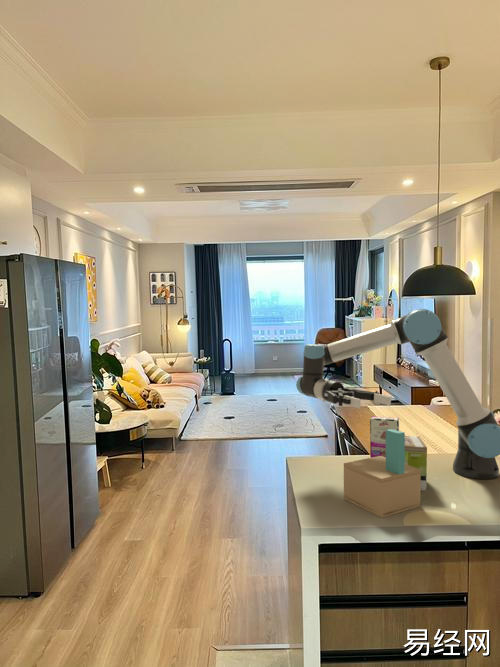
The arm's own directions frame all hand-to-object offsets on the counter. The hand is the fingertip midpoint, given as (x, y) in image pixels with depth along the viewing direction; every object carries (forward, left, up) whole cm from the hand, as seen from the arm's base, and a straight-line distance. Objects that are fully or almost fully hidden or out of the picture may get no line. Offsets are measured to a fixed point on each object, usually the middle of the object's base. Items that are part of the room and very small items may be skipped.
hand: (375, 402), depth 139 cm
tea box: (-15, -14, -31) cm, 37 cm away
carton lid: (-1, +3, -20) cm, 20 cm away
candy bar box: (-15, -42, -30) cm, 54 cm away
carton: (-1, +3, -30) cm, 30 cm away
